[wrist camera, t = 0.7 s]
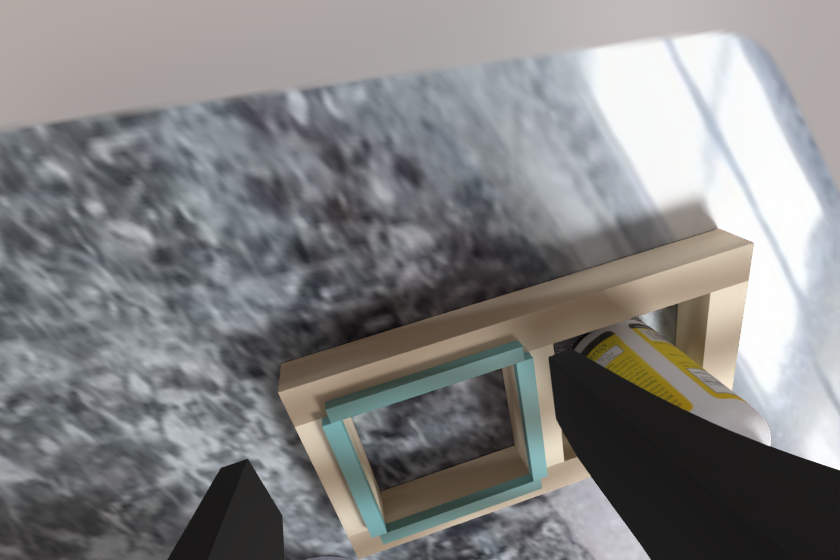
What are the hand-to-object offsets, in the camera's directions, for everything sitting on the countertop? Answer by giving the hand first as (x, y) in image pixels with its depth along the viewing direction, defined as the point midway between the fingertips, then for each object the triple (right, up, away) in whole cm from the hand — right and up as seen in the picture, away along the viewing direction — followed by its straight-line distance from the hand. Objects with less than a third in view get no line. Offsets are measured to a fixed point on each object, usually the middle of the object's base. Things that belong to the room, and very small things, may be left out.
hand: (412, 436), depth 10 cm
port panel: (+6, -2, +13) cm, 15 cm away
